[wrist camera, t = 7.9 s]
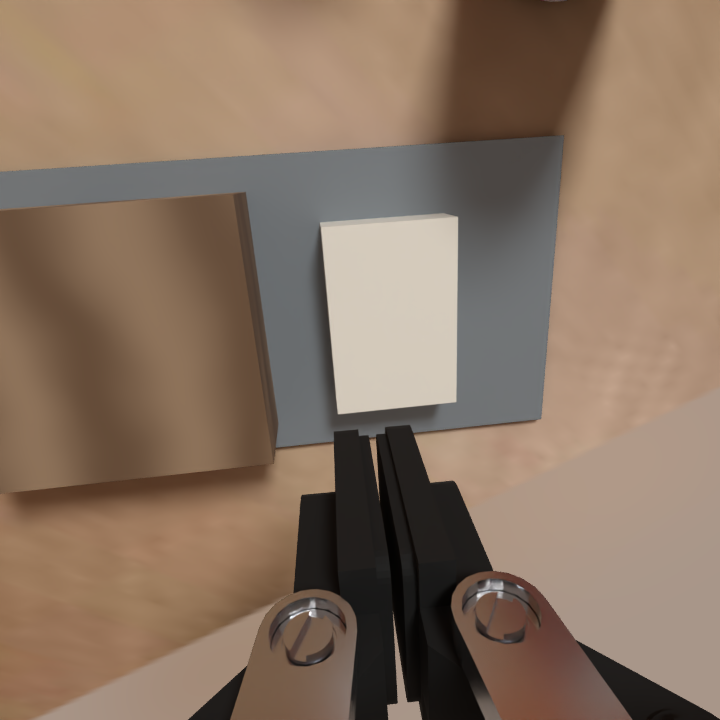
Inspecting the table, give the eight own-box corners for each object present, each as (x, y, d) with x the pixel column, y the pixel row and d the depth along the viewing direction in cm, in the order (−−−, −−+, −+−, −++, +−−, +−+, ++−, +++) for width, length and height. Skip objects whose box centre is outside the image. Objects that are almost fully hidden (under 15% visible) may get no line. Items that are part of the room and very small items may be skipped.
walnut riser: (246, 191, 22) (233, 194, 18) (279, 419, 27) (273, 463, 23) (-71, 213, 21) (-161, 222, 17) (16, 447, 26) (-40, 498, 22)
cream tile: (321, 227, 21) (319, 222, 23) (337, 414, 24) (335, 394, 26) (458, 216, 21) (443, 213, 23) (456, 402, 24) (443, 383, 26)
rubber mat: (559, 136, 23) (564, 135, 22) (538, 415, 28) (541, 419, 28) (-109, 179, 21) (-117, 179, 20) (5, 473, 26) (1, 477, 26)
